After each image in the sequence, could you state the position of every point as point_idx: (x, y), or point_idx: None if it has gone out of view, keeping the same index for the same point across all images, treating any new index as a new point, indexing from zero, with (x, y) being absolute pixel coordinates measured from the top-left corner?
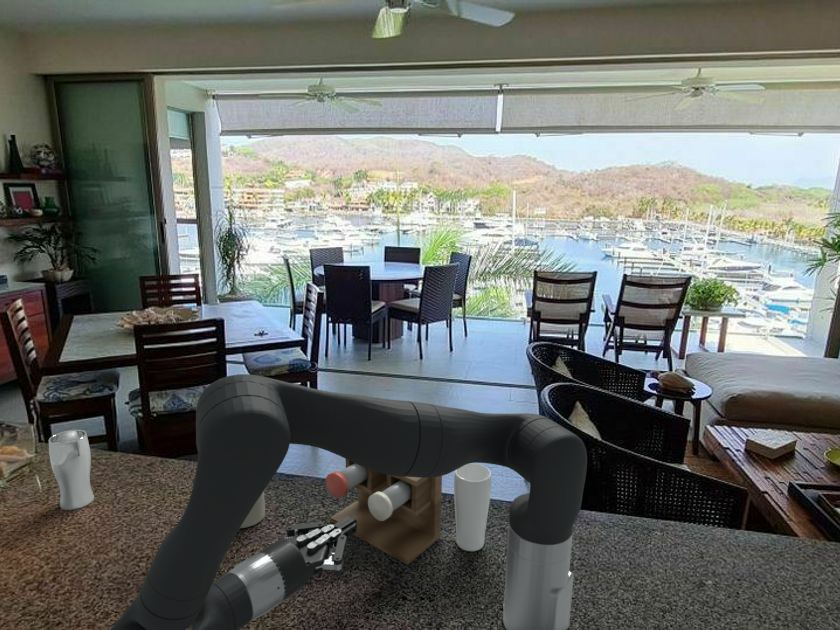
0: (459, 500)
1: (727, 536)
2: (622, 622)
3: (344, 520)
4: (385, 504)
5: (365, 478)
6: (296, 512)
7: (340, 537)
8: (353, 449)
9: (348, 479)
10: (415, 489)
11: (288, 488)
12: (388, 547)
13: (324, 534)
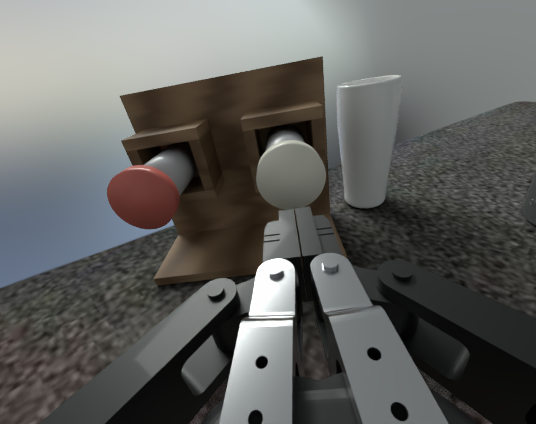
0: (371, 128)
1: (477, 115)
2: None
3: (285, 225)
4: (315, 156)
5: (192, 174)
6: (76, 310)
7: (397, 281)
8: None
9: (167, 175)
10: (322, 125)
11: (38, 285)
12: None
13: (335, 328)
